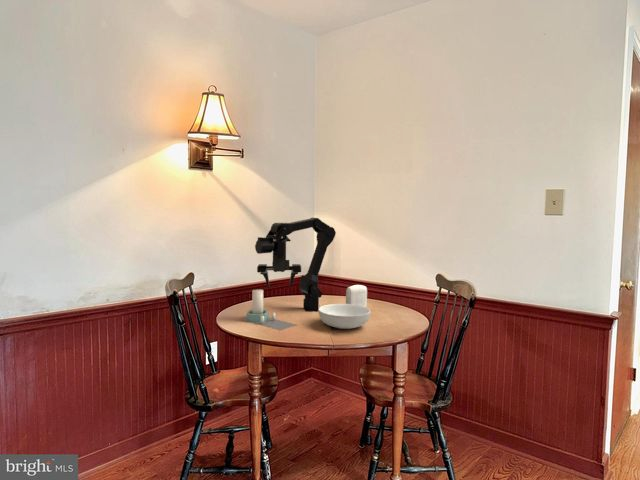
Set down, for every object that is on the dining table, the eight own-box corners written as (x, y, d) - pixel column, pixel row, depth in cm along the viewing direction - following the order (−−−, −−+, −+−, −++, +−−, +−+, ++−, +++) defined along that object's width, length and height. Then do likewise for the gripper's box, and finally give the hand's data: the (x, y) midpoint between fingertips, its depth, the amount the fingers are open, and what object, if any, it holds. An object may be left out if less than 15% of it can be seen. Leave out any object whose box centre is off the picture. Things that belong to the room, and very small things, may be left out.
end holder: (268, 316, 187) (268, 309, 187) (267, 322, 178) (267, 314, 178) (248, 316, 186) (248, 309, 186) (246, 322, 178) (246, 314, 178)
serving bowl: (380, 329, 174) (381, 312, 173) (335, 336, 164) (335, 318, 163) (351, 316, 192) (351, 301, 191) (308, 322, 182) (309, 306, 181)
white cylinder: (265, 318, 184) (265, 289, 183) (260, 321, 180) (260, 292, 178) (255, 317, 185) (255, 289, 184) (250, 320, 181) (250, 291, 180)
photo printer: (361, 309, 205) (362, 283, 204) (367, 311, 201) (368, 284, 200) (344, 312, 199) (344, 285, 198) (349, 314, 195) (350, 286, 194)
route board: (297, 326, 176) (297, 317, 175) (280, 331, 168) (280, 322, 167) (257, 315, 190) (257, 307, 189) (239, 320, 182) (239, 312, 182)
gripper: (256, 254, 181) (256, 292, 183) (301, 254, 183) (301, 291, 184) (257, 251, 192) (258, 286, 194) (300, 251, 194) (300, 286, 195)
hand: (279, 287), depth 192 cm, fingers open, 9 cm apart
